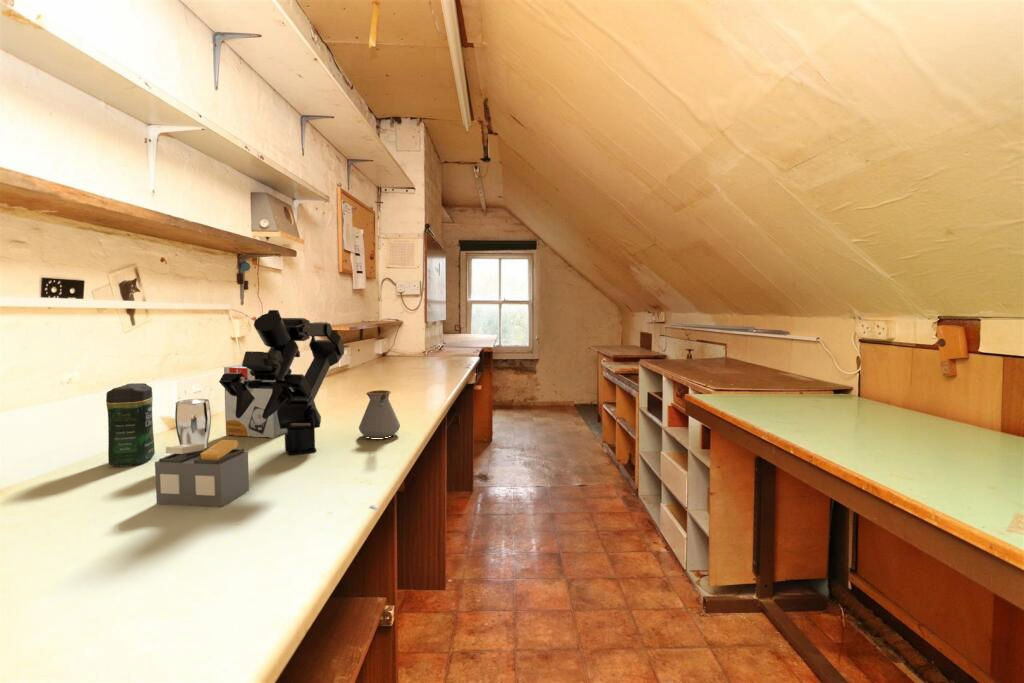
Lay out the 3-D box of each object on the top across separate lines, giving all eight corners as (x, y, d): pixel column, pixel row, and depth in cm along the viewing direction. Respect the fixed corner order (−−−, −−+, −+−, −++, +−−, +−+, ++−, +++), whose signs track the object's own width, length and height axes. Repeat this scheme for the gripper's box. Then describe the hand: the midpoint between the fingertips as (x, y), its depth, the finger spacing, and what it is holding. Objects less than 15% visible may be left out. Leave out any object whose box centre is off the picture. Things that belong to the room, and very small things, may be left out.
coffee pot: (358, 433, 143) (357, 382, 142) (397, 429, 147) (397, 380, 146) (361, 453, 123) (360, 395, 122) (407, 449, 127) (406, 392, 126)
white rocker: (189, 449, 97) (190, 443, 97) (204, 450, 96) (204, 443, 97) (165, 453, 91) (166, 446, 91) (181, 453, 91) (182, 447, 91)
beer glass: (194, 470, 109) (192, 405, 108) (169, 468, 111) (166, 403, 110) (219, 460, 116) (217, 399, 115) (195, 458, 117) (192, 397, 116)
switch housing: (188, 488, 99) (187, 447, 98) (249, 490, 97) (247, 449, 97) (155, 504, 90) (153, 459, 90) (220, 507, 89) (219, 462, 89)
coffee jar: (144, 465, 112) (140, 386, 111) (103, 469, 110) (98, 388, 108) (160, 453, 121) (156, 380, 120) (122, 456, 119) (118, 381, 118)
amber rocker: (222, 445, 96) (221, 439, 96) (238, 445, 96) (237, 439, 96) (201, 459, 90) (200, 453, 90) (217, 460, 90) (216, 454, 90)
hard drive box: (224, 436, 139) (222, 366, 137) (243, 429, 146) (241, 363, 145) (273, 438, 136) (271, 368, 135) (290, 431, 144) (288, 365, 142)
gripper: (223, 336, 107) (187, 395, 97) (303, 337, 106) (276, 397, 95) (247, 367, 116) (216, 424, 106) (321, 369, 114) (298, 426, 104)
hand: (250, 417), depth 102 cm, fingers open, 6 cm apart
